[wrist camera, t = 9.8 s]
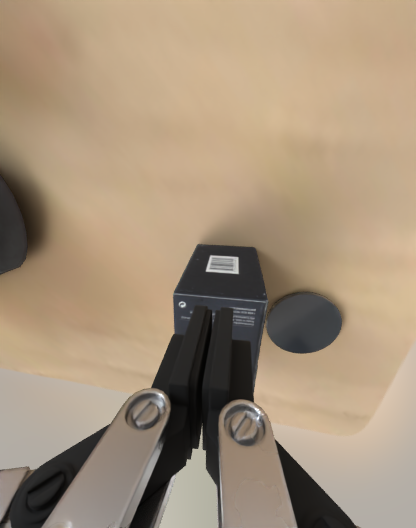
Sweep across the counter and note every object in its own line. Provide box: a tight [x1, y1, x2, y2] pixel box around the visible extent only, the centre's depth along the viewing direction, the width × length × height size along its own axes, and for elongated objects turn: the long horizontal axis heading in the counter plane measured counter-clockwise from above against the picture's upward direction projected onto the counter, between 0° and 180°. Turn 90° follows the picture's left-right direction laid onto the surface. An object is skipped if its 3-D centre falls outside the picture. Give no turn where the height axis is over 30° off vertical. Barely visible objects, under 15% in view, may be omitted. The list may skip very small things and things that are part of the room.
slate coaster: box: [266, 292, 342, 353], centre depth 26 cm, size 8×8×1 cm
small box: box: [173, 244, 269, 393], centre depth 21 cm, size 11×6×10 cm
